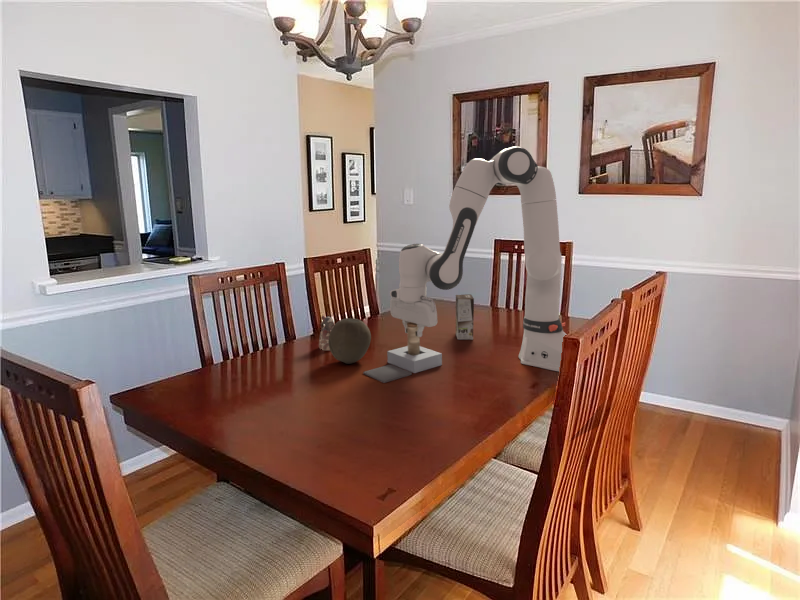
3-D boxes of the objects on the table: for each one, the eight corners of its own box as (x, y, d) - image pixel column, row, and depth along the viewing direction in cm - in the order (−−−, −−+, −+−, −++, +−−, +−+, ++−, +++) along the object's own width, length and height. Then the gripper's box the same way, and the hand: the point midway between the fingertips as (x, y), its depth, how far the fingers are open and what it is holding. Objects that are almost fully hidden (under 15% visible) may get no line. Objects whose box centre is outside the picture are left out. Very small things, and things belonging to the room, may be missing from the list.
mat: (411, 374, 169) (411, 372, 169) (384, 383, 163) (384, 381, 163) (390, 366, 178) (390, 364, 178) (363, 373, 171) (363, 371, 171)
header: (441, 364, 178) (441, 353, 177) (414, 373, 171) (414, 361, 170) (414, 355, 189) (414, 344, 188) (387, 362, 181) (387, 351, 181)
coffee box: (473, 339, 206) (474, 298, 203) (457, 339, 207) (457, 298, 203) (471, 333, 215) (471, 293, 212) (455, 333, 215) (455, 294, 212)
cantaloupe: (365, 369, 175) (363, 325, 171) (324, 367, 177) (321, 323, 174) (375, 356, 188) (374, 314, 185) (337, 354, 191) (335, 313, 188)
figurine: (328, 351, 194) (327, 319, 192) (315, 348, 198) (313, 317, 196) (342, 346, 200) (341, 315, 197) (328, 343, 204) (327, 313, 201)
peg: (422, 358, 179) (422, 323, 177) (413, 360, 177) (412, 325, 174) (414, 355, 182) (414, 321, 180) (405, 357, 180) (404, 323, 177)
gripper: (441, 297, 169) (442, 339, 172) (401, 288, 185) (401, 327, 188) (427, 300, 165) (427, 343, 168) (386, 290, 181) (387, 330, 184)
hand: (413, 334), depth 178 cm, fingers closed on peg, 4 cm apart
